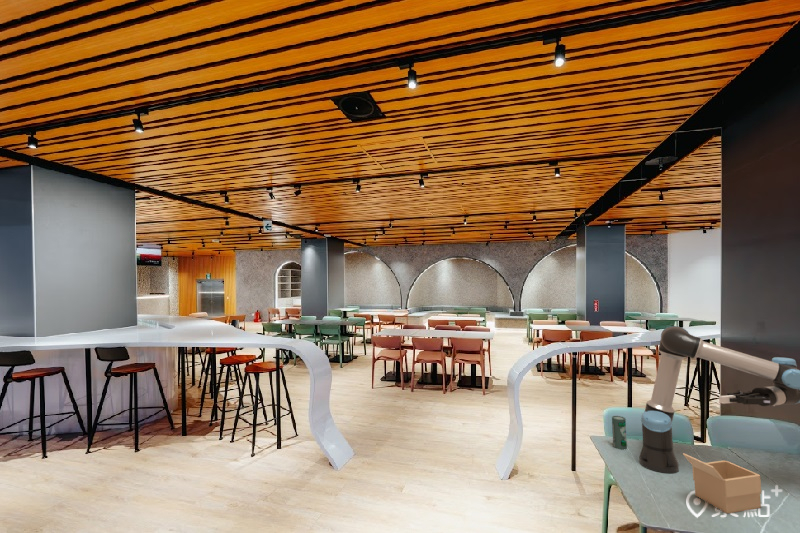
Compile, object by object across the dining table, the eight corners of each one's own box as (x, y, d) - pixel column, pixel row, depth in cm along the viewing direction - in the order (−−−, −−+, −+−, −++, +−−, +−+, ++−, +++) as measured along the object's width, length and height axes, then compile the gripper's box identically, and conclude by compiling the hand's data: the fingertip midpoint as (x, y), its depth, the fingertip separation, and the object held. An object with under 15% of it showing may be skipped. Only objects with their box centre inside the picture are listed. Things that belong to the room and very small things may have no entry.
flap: (724, 479, 140) (723, 480, 140) (693, 465, 151) (693, 466, 151) (713, 466, 139) (712, 467, 139) (683, 453, 151) (682, 453, 150)
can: (626, 450, 193) (625, 420, 194) (613, 448, 196) (611, 418, 197) (626, 446, 198) (625, 417, 199) (613, 443, 201) (612, 415, 202)
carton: (728, 514, 138) (726, 480, 139) (694, 495, 151) (692, 464, 152) (763, 508, 142) (761, 475, 142) (727, 490, 154) (725, 460, 155)
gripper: (786, 410, 154) (737, 414, 150) (751, 400, 167) (706, 404, 163) (784, 391, 155) (736, 395, 151) (750, 383, 168) (705, 386, 164)
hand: (720, 399), depth 157 cm, fingers closed
